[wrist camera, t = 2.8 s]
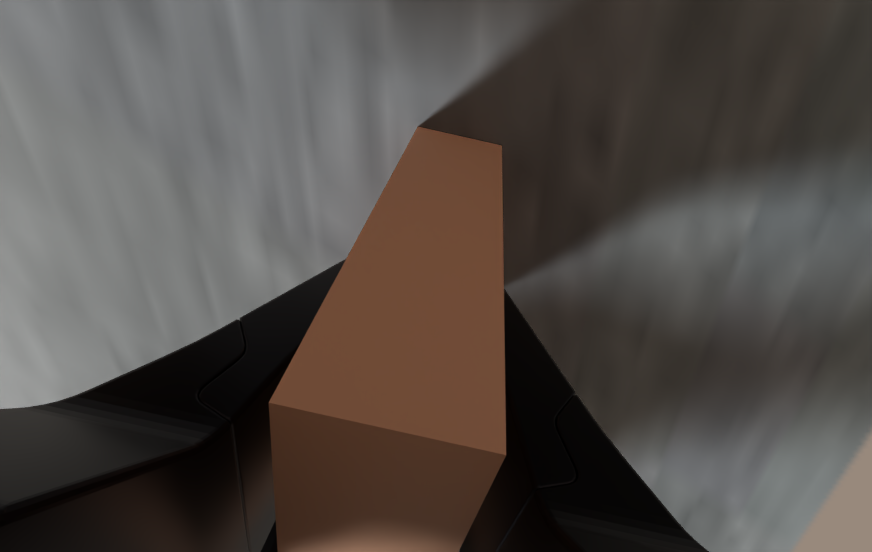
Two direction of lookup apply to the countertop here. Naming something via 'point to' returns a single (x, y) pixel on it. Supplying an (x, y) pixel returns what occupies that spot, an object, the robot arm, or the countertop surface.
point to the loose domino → (401, 368)
